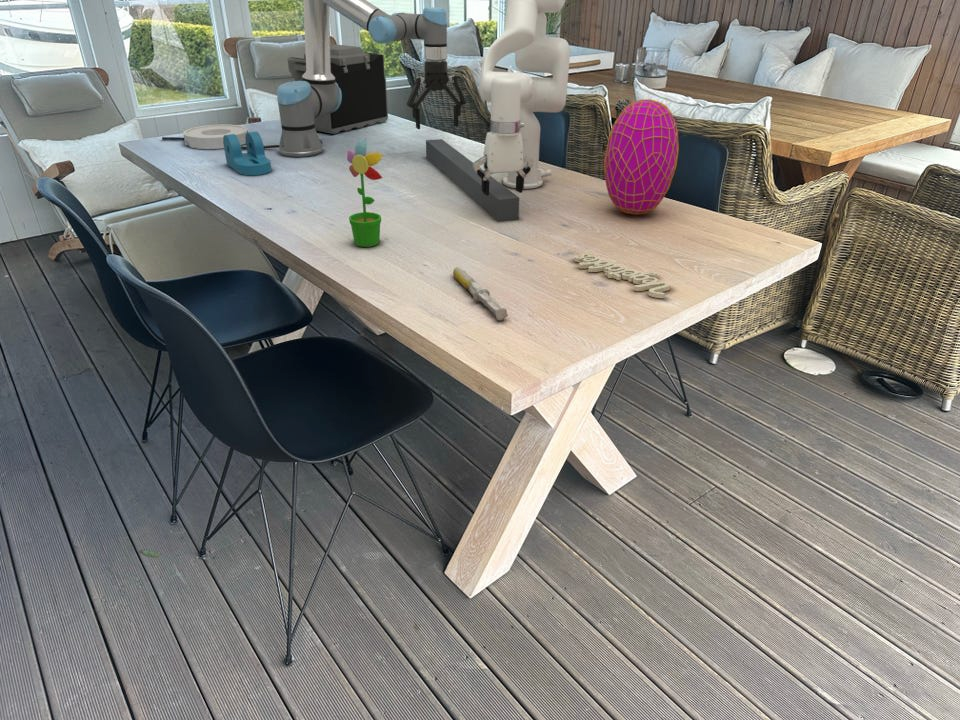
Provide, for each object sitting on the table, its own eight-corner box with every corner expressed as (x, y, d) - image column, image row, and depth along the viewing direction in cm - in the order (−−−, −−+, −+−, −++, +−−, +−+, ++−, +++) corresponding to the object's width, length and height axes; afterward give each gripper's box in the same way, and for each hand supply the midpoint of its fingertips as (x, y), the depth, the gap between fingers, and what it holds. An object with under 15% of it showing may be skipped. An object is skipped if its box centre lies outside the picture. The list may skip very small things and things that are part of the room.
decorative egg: (646, 228, 182) (662, 110, 167) (585, 212, 193) (596, 100, 178) (681, 212, 194) (699, 100, 179) (622, 197, 206) (635, 91, 190)
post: (518, 219, 188) (519, 197, 185) (498, 221, 186) (498, 199, 183) (442, 156, 246) (441, 139, 243) (426, 157, 244) (425, 140, 241)
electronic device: (355, 114, 307) (349, 41, 292) (392, 121, 296) (388, 45, 281) (291, 128, 282) (281, 48, 266) (329, 136, 271) (321, 53, 255)
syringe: (449, 274, 155) (449, 263, 153) (465, 272, 156) (464, 260, 154) (490, 323, 135) (491, 310, 133) (508, 319, 136) (508, 307, 134)
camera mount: (227, 164, 233) (221, 132, 227) (257, 160, 238) (252, 129, 233) (244, 176, 220) (239, 143, 215) (276, 172, 225) (271, 139, 220)
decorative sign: (686, 282, 150) (660, 295, 144) (686, 286, 150) (659, 300, 144) (592, 249, 166) (565, 259, 160) (592, 253, 167) (565, 263, 161)
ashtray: (199, 134, 271) (197, 123, 269) (257, 135, 271) (255, 124, 268) (174, 148, 251) (172, 137, 249) (237, 149, 251) (235, 138, 249)
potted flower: (390, 240, 173) (384, 138, 160) (373, 250, 166) (366, 145, 154) (358, 234, 176) (350, 134, 163) (341, 244, 170) (331, 141, 157)
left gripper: (468, 57, 232) (468, 122, 243) (396, 60, 224) (399, 127, 235) (475, 60, 226) (475, 127, 237) (401, 63, 218) (404, 131, 229)
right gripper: (529, 123, 184) (526, 187, 192) (468, 126, 179) (468, 191, 187) (541, 128, 178) (537, 194, 186) (478, 131, 173) (477, 199, 181)
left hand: (437, 127), depth 236 cm, fingers open, 13 cm apart
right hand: (502, 192), depth 187 cm, fingers open, 9 cm apart
